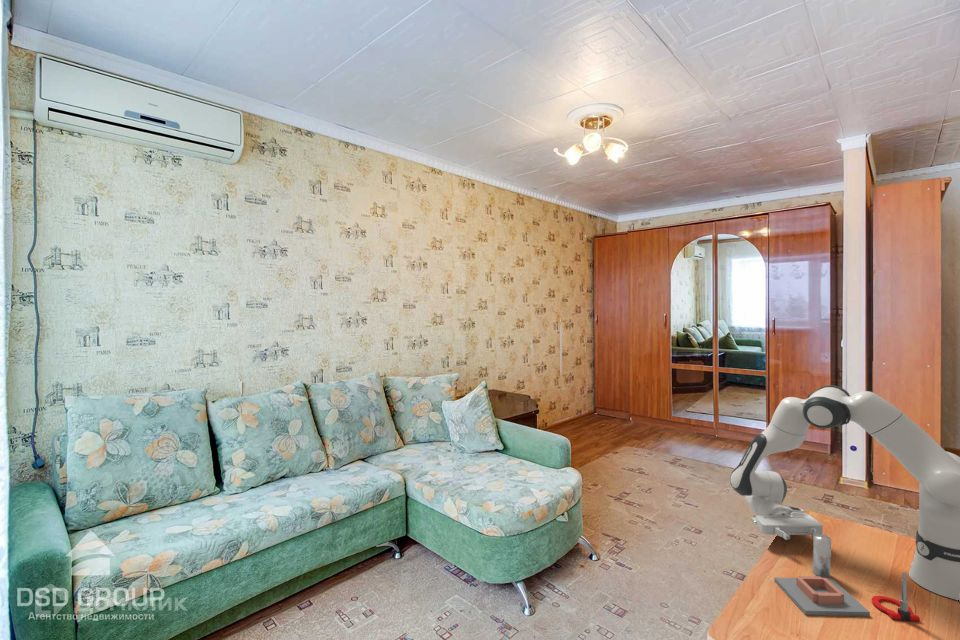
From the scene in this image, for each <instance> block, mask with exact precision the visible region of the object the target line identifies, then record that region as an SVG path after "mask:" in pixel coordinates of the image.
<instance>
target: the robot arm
mask: <svg viewBox="0 0 960 640" xmlns="http://www.w3.org/2000/svg"><path fill="white" fill-rule="evenodd" d="M771 417H772V418H771V420H770V422H769V424H768V426H766V428H765V429H764V430H763V431H762V432H761V433H759V434H757V435H756V436H755V437H754V438H753V439H752V441H751V442H750V444H749V446H748V448H747V449H746V451H745V452H744V454H743V456H742V458H741V459H740V462H739V464H737V466H736V467H735V468H734V469H733V470H732V472H731V474H730V476H729V477H730V478H729V481H730V486H731V487H732V489H733V490H734V491H735V492H736V493H737V494H738V495H740V496H744V498H745V501H746V503H747V505H748V507H749V508H750V509H751V511H753V513H754V514H756V515H753V516H751V517H750V520H751V521H752V522H753V523H754V524H755V525H756V528H757V529H758V530H759V532H760V533H762V534H764V535H772V536H773V535H776V536H779V537H781V538H783V540H791V535H792V536H811V539H812V540H813V539H814V534H823V532H824V530H823V529H824V527H823V524H822V523H821V522H820V521H819V520H817V519H816V518H815V517H813V515H810V514H808V513H807V512H805V510H804V509H803V508H800V507H794V506H788V505H785V504H783V502H784V500H785V499H786V496H787V493H788V485H787V483H786V481H785V479H784V478H783V476H782V475H781V474H780V473H779V472H777V471H772V470H761V469H758V468H759V466H760V464H761V462H762V460H763V459H764V458H766V457H767V456H771V455H773V454H778V453H782V452H789V451H794V450H796V449H798V448H799V447H801V445H802V444H803V443H804V441H805V440H806V436H807V433H808V430H809V428H810V427H811V426H813V427H814V428H818V429H824V430H825V429H832V428H835V427H839V426H843V425H848V424H849V423H850V422H852V423H853V422H854V423H855V424H857V425H858V426H860V427H861V428H862V429H863V430H864V431H866V433H867V434H868V435H870V436H871V437H872V438H873V439H874V440H875V441H877V442H878V443H879V444H880V445H881V446H882V447H883V448H884V449H886V451H888V452H889V453H890V454H891V455H892V456H893V457H894V458H895V459H896V460H897V461H898V462H899V463H900V465H902V466H903V468H904V469H905V470H907V472H909V474H910V475H911V476H912V477H913V478H914V479H915V480H916V481H917V482H918V483H919V486H918V487H919V488H918V490H919V491H918V492H919V493H918V494H919V495H918V496H919V497H918V498H919V502H918V503H919V504H918V507H919V508H918V530H916V533H915V546H916V547H915V551H914V556H913V560H912V562H911V564H910V569H909V571H908V576H909V578H910V579H911V580H912V581H913V582H915V583H916V585H918V586H921V587H922V588H924V589H926V590H928V591H929V592H931V593H934V594H937V595H940V596H941V597H945V598H948V599H949V598H950V599H952V600H956V601H958V600H959V601H958V602H960V456H959V455H957V454H955V453H952V452H950V451H946V450H945V449H944V448H943V447H942V445H940V444H939V443H938V442H936V440H934V439H933V438H932V436H930V434H929V433H928V432H926V430H924V429H923V428H922V427H920V425H919V424H917V423H915V421H913V420H912V419H911V418H910V417H908V416H907V415H906V414H905V413H903V411H901V410H900V409H899V408H897V407H896V406H895V405H893V404H892V403H891V402H890V401H888V400H886V399H885V398H883V397H881V396H880V395H878V394H876V393H875V392H873V391H870V390H867V391H866V390H864V391H863V390H862V391H859V392H856V393H854V394H852V395H851V394H850V393H849V392H848V390H846V389H844V388H842V387H841V386H838V385H831V384H830V385H825V386H822V387H819V388H817V389H816V390H814V391H813V392H812V393H810V394H808V395H807V398H805V399H802V398H800V397H795V396H789V397H784V398H783V399H781V401H780V402H779V403H778V406H777V407H776V409H775V411H774V413H773V414H772V416H771Z"/></svg>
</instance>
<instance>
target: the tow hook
mask: <svg viewBox="0 0 960 640" xmlns="http://www.w3.org/2000/svg"><path fill="white" fill-rule="evenodd" d="M901 574H902V579H900V583H901V584H900V587H901V588H900V589H901V591H900V599H896V598H894V597H893V598H892V597H889V596H886V595H885V596H884V595H874V596H872V597H871V603H872V606H874V607H875V608H877V609H878V610H880V611H881V612H883V613H885V614H887V615H888V617H889V618H890V619H891V620H900V621H907V622H909V621H913V622H915V621H916V622H920V620H921V619H920V616H919V615H918V614H914V612H913V609H912V608H911V607H909V601H908V580H907V572H904V571H903V572H901ZM881 602H887V603H890V604H893V605H896V606H898V608H897V612H896V611H895V610H893V609H889V608H887V607H886V606H884V605H882V604H881Z"/></svg>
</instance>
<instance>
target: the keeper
mask: <svg viewBox="0 0 960 640" xmlns="http://www.w3.org/2000/svg"><path fill="white" fill-rule="evenodd" d="M773 579H774V582H775V584H776V585H777V586H778V588H780V589H781V590H782V591H783V593H785V595H787V597H788V598H789V599H790V600H791V601H792V602H793V603H794V605H795V606H796V607H797V608H798V609H799V610H800V611H801V612H802V613H803V614H804V616H805V615H806V616H807V615H808V616H836V617H837V616H841V617H843V616H844V617H845V616H846V617H848V616H849V617H850V616H851V617H870V616H871V615H870V614H871V613H870V612H871V611H869V610H868V609H867V608H866V607H865V606H864V605H863V604H862V603H860V602H859V600H857V599H856V598H855V597H854V596H852V595H851V594H850V593H849V592H848V591H847V590H846V589H845V588H843V586H842V585H840V584H839V583H838V582H837V581H835V579H833V578H828V579H827V578H821V577H820V576H816V575H815V576H813V575H811V576H809V575H808V576H807V575H799V577H798V576H797V577H774V578H773Z"/></svg>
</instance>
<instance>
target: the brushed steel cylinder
mask: <svg viewBox="0 0 960 640" xmlns="http://www.w3.org/2000/svg"><path fill="white" fill-rule="evenodd" d="M812 540H813V542H812V543H813V544H812V548H813V549H812V574H813V575H815V576H820V577H821V578H827V579H831V566H832V565H831V562H832V560H831V557H832V538H831V537H830V536H828V535H825V534H823V533H822V534H814V539H813V538H812Z"/></svg>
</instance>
